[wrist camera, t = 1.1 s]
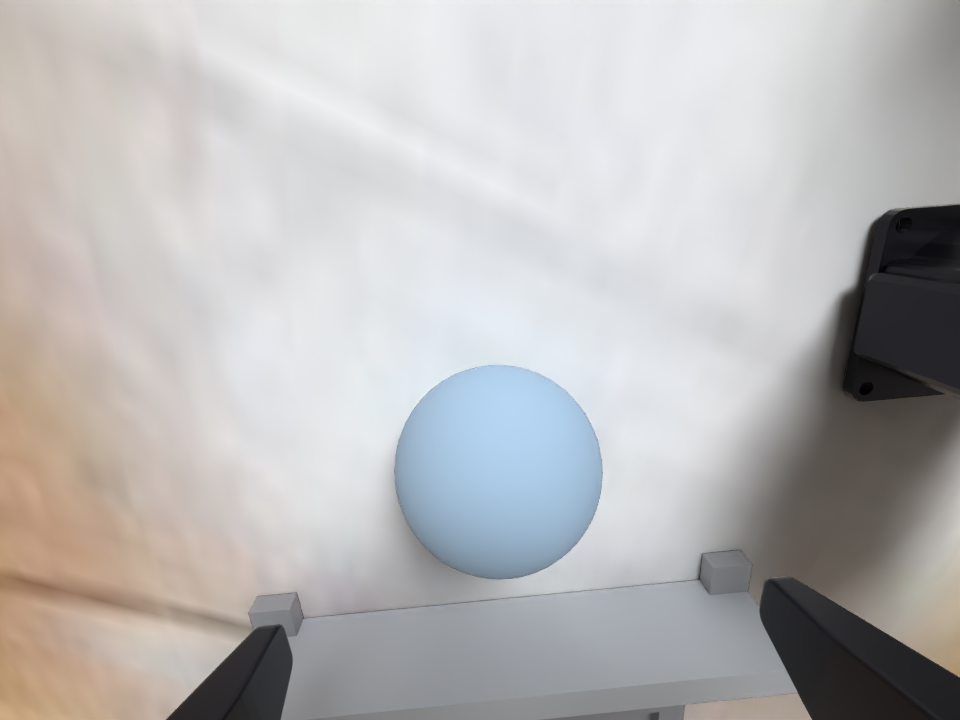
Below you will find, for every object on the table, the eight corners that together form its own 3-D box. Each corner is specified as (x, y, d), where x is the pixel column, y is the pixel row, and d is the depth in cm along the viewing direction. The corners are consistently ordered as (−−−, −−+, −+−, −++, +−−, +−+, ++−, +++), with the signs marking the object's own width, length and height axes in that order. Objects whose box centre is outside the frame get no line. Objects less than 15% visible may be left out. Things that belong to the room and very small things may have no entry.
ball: (572, 333, 15) (642, 408, 9) (573, 483, 17) (631, 621, 11) (395, 348, 15) (358, 434, 9) (417, 497, 17) (396, 645, 11)
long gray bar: (740, 549, 18) (813, 638, 15) (729, 621, 20) (794, 719, 16) (257, 596, 18) (204, 699, 14) (279, 666, 19) (235, 778, 16)
